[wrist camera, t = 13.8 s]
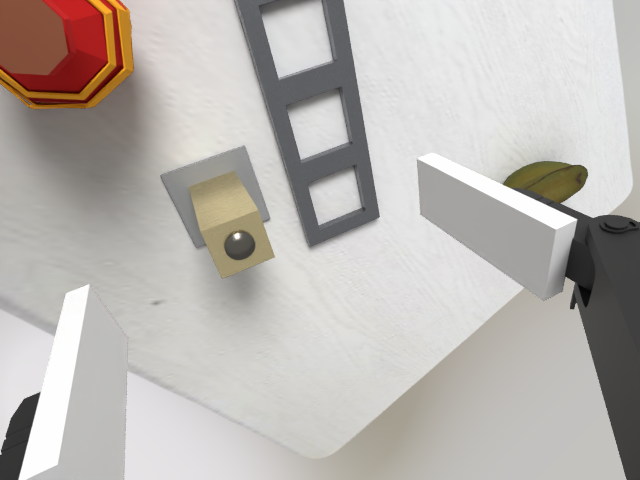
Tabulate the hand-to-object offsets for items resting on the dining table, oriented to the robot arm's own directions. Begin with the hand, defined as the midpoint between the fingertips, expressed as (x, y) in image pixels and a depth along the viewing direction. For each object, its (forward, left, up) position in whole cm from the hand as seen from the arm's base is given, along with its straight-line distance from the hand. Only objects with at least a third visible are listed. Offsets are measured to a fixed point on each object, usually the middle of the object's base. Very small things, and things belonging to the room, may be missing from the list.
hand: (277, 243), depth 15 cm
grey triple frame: (+12, -5, -28) cm, 31 cm away
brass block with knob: (-1, -9, -28) cm, 29 cm away
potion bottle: (-7, +9, -28) cm, 31 cm away
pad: (-1, -9, -28) cm, 29 cm away
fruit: (+42, -24, -28) cm, 56 cm away
